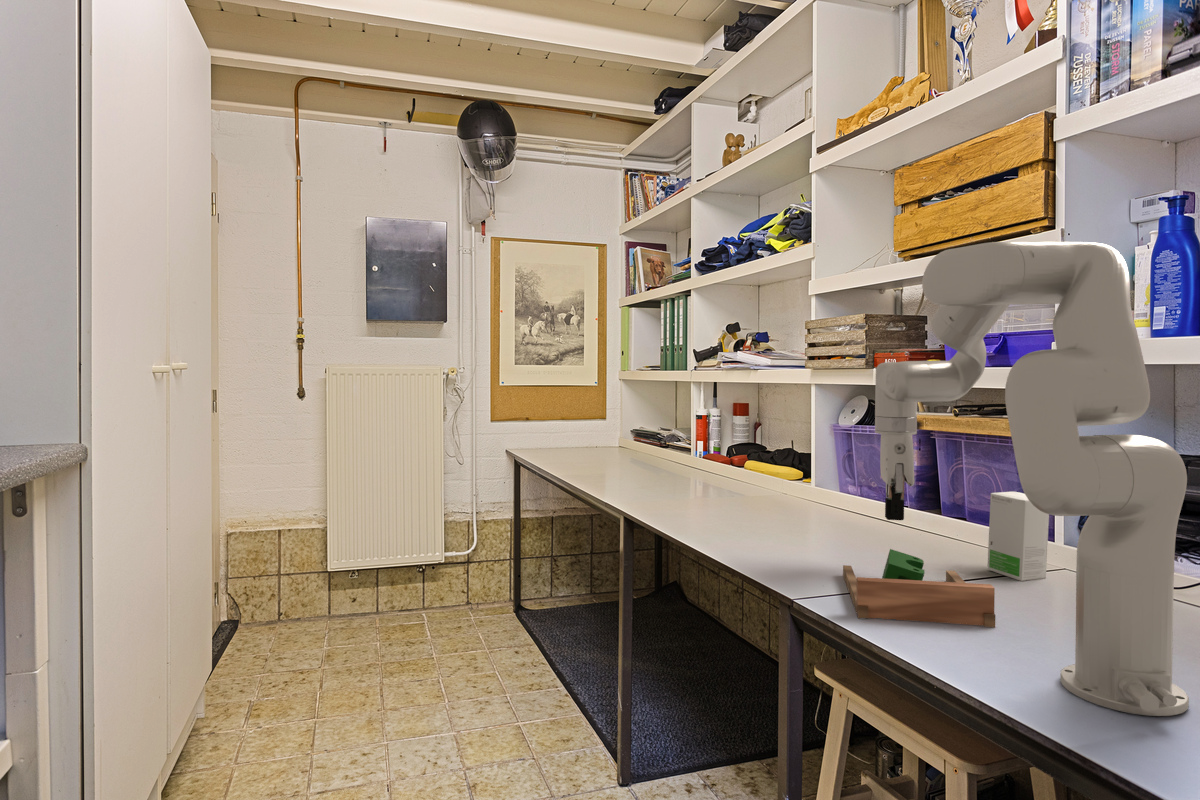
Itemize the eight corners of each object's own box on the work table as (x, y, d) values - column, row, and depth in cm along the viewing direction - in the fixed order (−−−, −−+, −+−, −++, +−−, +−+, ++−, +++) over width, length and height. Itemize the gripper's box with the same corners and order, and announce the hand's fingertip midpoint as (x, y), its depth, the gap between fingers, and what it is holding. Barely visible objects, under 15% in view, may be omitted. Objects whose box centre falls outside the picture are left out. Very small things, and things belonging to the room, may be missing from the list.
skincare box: (986, 570, 141) (987, 492, 140) (1012, 567, 143) (1013, 490, 142) (1023, 582, 133) (1024, 499, 132) (1050, 578, 135) (1050, 497, 134)
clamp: (910, 619, 126) (923, 581, 122) (875, 607, 128) (887, 569, 124) (917, 577, 135) (929, 541, 131) (884, 567, 138) (895, 530, 133)
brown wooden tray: (995, 627, 109) (995, 588, 109) (858, 618, 114) (858, 581, 114) (954, 581, 133) (954, 549, 133) (842, 575, 138) (843, 544, 138)
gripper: (924, 429, 129) (923, 529, 130) (909, 422, 144) (907, 512, 145) (880, 429, 131) (879, 527, 132) (870, 422, 146) (868, 510, 147)
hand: (894, 519), depth 138 cm, fingers closed
